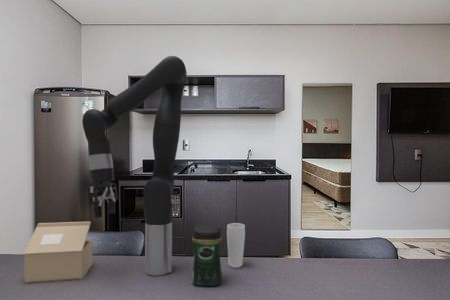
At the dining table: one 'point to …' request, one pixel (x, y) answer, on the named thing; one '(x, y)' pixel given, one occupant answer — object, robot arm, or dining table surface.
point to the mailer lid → (58, 238)
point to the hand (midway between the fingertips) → (105, 215)
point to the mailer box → (58, 265)
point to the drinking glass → (235, 244)
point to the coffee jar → (207, 255)
